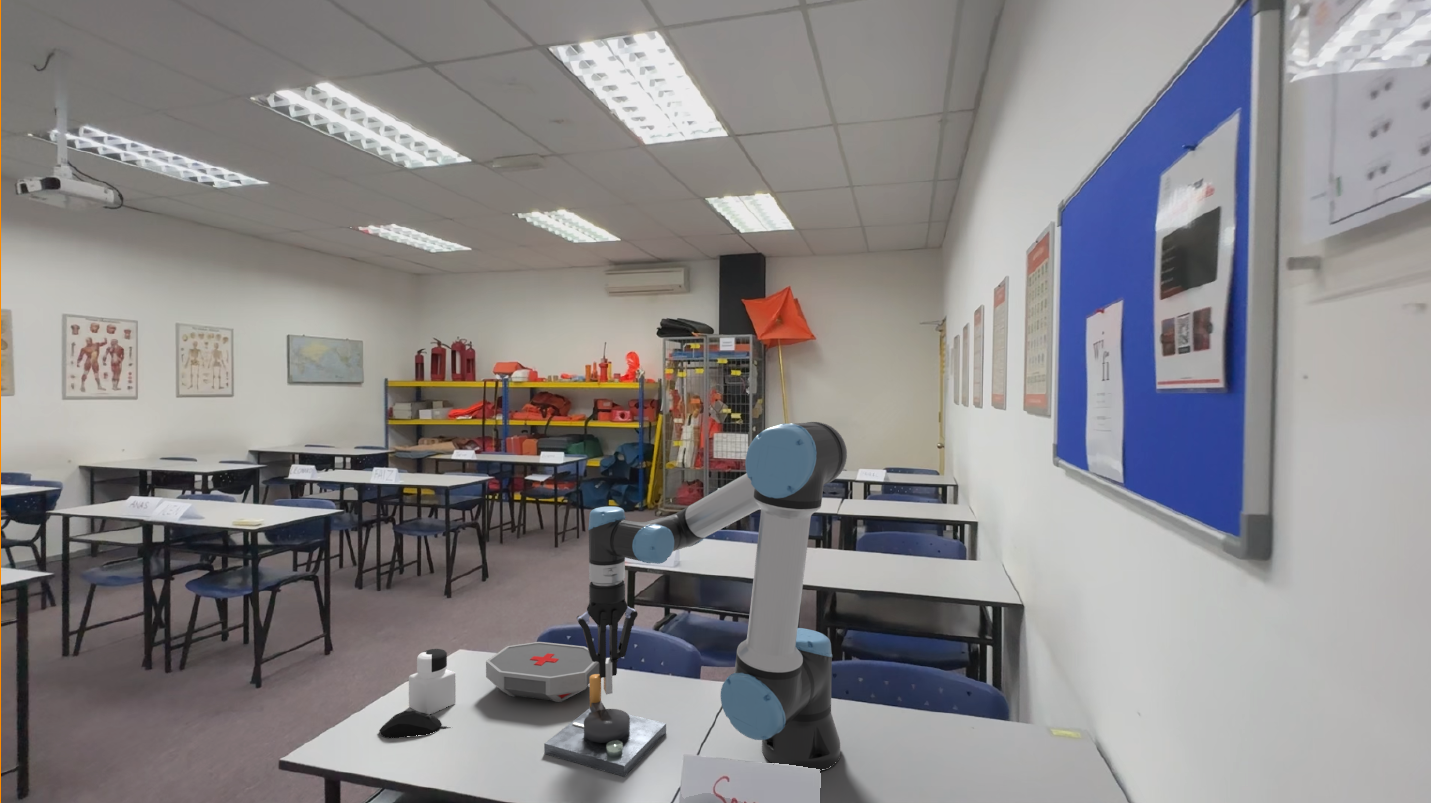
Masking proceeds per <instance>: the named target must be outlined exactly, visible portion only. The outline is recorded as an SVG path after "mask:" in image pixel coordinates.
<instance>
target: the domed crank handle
mask: <svg viewBox="0 0 1431 803" xmlns="http://www.w3.org/2000/svg"><path fill="white" fill-rule="evenodd" d="M589 708H590V710H591V712H592V713H591V714H590V715H588V716H587V717H586V718H585V720H584V735H585V737H586V738H587V739H589V740H591V741H593V742H598V743H608V742H610V741H614V740H619V739H622V738H623V737H625V736H626V735H627V734H628V733H629V731H630V717H629V715H630V714H629V713H627V712H626V711H625V710H621V709H617V708H606V707H605V705H604V703H603V702H602V678H601V677H600V675H599V674H593V675H591V676H590V683H589ZM628 714H629V715H628Z"/></svg>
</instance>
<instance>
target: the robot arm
mask: <svg viewBox="0 0 1431 803" xmlns="http://www.w3.org/2000/svg"><path fill="white" fill-rule="evenodd" d="M847 454H848V450H847V446H846V443H845V440H844V438H843V437H842V435H841V434H840V433H839V432H838V430H837V429H835V428H834V427H832V426H831V425H828V424H826V423H824V422H819V421H810V422H808V421H807V422H801V423H800V422H796V423H793V422H792V423H786V422H785V423H781V424H777V425H774V426H771V427H768V428H766V429H763V430H762V431H761V432H760V433H758V434H757V435H756V436H755V437H754V438H753V439H752V440H751V442H750V444H749V445H748V448H747V452H746V454H745V464H744V465H745V474H743V475H740V476H739V477H737V478H736V479H734V480H732V481H730V482H728V483H727V484H725V485H723V486H722V487H720V488H718V489H717V490H714V491H713V492H712V493H709V494H708V495H706V496H704V497H703V498H700V499H699V500H697V501H695V502H693V503H692V504H690V505H688V506H687V507H685V508H683V509H682V510H679V511H678V512H676V513H673V514H671V515H668V516H662V517H659V518H655V519H652V520H648V521H633V520H628V519H626V518H627V517H626V515H625V510H624V509H623V508H622V507H619V506H600V507H596V508H594V509H592V510H591V511H590V512H589V517H588V519H589V520H588V529H587V531H588V573H589V574H588V579H589V581H590V582H589V584H588V589H589V590H588V591H589V592H588V593H589V594H588V595H589V596H588V601H589V602H588V606H587V608H586V610H585V612H584V613H583V614H578V615H577V616H576V620H577V623H578V625H579V626H580V628H581V629H582V631H583V636H584V639H585V643H586V646H587V648H588V651H589V654H590V657H591V659H592V661H593V662H599V675H600V677H601V679H603V690H604V693H605V695H611V694H613V676H614V677H615V676H617V674H618V662H619V659H620V658H624V657H625V656H626V653H627V650H628V645H629V642H630V638H631V633H632V628H633V625H634V622H635V620H636V619H637V617H638V614H639V613H638V611H637V610H636V609H635V608H634V607H630V606H628V603H627V601H626V581H625V578H626V567H625V566H626V561H625V560H626V559H631V560H634V561H639V562H642V563H645V564H658V565H659V564H660V565H661V564H663V563H666V561H667V560H668V558H669V557H671V556H672V554H673V552H676V551H679V550H681V549H685V548H687V547H692V546H695V545H698V544H699V543H701V542H702V541H704V540H705V539H706V538H707V537H708V536H710V535H712V534H714V533H716V532H718V531H720V530H721V529H723V528H724V529H725V528H726V527H727V526H729V525H731V524H733V523H735V522H737V521H740V520H741V519H742V518H745V517H748V516H749V515H750V514H752V513H754V512H756V511H758V510H760V517H759V526H758V536H757V544H756V554H755V563H754V571H753V579H752V580H753V581H752V587H751V588H752V590H751V599H750V607H749V608H750V609H749V618H748V623H747V624H748V626H747V633H746V634H747V636H746V639H745V640H743V641H741V642H740V643H739V644H738V646H737V649H736V655H735V656H736V657H735V665H734V671H733V673H731V674H729V675H728V676H727V677H726V679H725V680H724V682H723V683H722V686H721V688H720V703H721V708H722V710H723V713H724V715H725V717H727V718H728V720H729V722H730V724H731V725H732V726H733V727H734V729H735V730H736V731H738V732H739V733H740V734H741V735H743V736H744V737H746V738H748V739H751V740H755V741H761V751H762V753H763V756H764V757H765V759H766V760H767V761H769V763H771V762H772V763H779V764H789V765H796V766H803V767H808V768H816V769H820V770H821V771H820V772H823V771H822V769H826V768H829V767H830V766H832V765H833V764H835V762H837V761H838V762H839V760H840V758H841V739H840V736H839V733H838V731H837V727H836V724H835V721H834V718H833V714H832V663H833V661H832V658H833V654H832V643H831V640H830V638H829V637H828V636H826V635H825V634H824V633H822V632H819V631H816V630H813V629H809V628H804V627H803V628H802V627H799V620H800V619H799V618H800V610H801V602H802V595H803V594H802V592H803V587H804V576H805V568H806V559H807V553H808V552H807V551H808V544H809V535H810V526H811V517H812V515H813V514H814V513H816V512H817V511H818V510H820V509H821V507H822V500H823V492H824V485H827V484H829V483H831V482H833V481H834V480H835V479H837V478H838V477H839V475H840V474H841V473H842V471H844V469H845V466H846V463H847V459H848V455H847ZM623 616H625V618H624V621H623V626H622V630H621V634H620V639H619V642H618V629H619V622H620V621H621V619H622V617H623ZM590 618H591V619H592V620H593V621H594V623H595V624H596V625H597V651H596V647H595V644H594V641H593V636H592V633H591V629H590V626H589V624H590ZM607 626H608V627H609V628H608V632H609V633H608V634H609V635H608V636H609V637H608V640H609V643H608V644H609V646H608V648H609V650H608V651H609V653H608V654H609V657H607V642H606V641H607V638H606V636H607V633H606V632H607ZM839 757H840V758H839ZM838 759H839V760H838ZM838 762H837V763H838ZM772 763H771V764H772ZM835 765H836V764H835ZM832 767H833V766H832ZM829 769H830V768H829Z"/></svg>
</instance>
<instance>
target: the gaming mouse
mask: <svg viewBox="0 0 1431 803" xmlns="http://www.w3.org/2000/svg"><path fill="white" fill-rule="evenodd" d="M442 725H443V724H442V722H441V720H440V719H439V718H437V717H436V716H434V715H433V714H431V715H429V714H426V713H422V712H418V711H416V710H403V711H401V712H399V713H397V714H394V715H393V716H392V717H391V718H390V719H388V721H386V722H385V723H384V724H383V725H382V726H381V727H380V728H379V734H380V735H381V737H383V738H386V739H400V738H399V737H405V738H408V737H407V736H416V735H417V736H418V735H426V734H430V733H433V732H435V731H436V732H438V731H439V730H442V729H443V730H444V729H445V730H446V729H452V728H451V727H452V726H451V727H449V726H448V725H447V726H448V727H447V726H444V725H443V726H442ZM436 732H435V733H436ZM433 734H434V733H433ZM430 735H431V734H430ZM426 736H427V735H426Z"/></svg>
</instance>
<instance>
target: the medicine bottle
mask: <svg viewBox="0 0 1431 803" xmlns="http://www.w3.org/2000/svg"><path fill="white" fill-rule="evenodd" d="M447 654H448V652H447V651H446V650H444V649H442V648H431V649H427V650H424V651H422V652H421V653H419V654H418V655H417V657H416V672H415V673H413V674H412V673H411V674H410V675H409V676H408V707H409V708H411V709H412V710H413V711H418V712H422V713H426V714H429V715H430V714H431V715H433V714H435V713H437V712H439V710H440V711H441V710H444V709H447V708H449V707H452V706H453V705H455V704H456V698H457V697H456V696H457V695H456V691H457V690H456V689H457V688H456V683H457V682H456V672H455V671H452V670H450V669H448V655H447ZM448 706H449V707H448ZM446 707H447V708H446Z"/></svg>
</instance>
